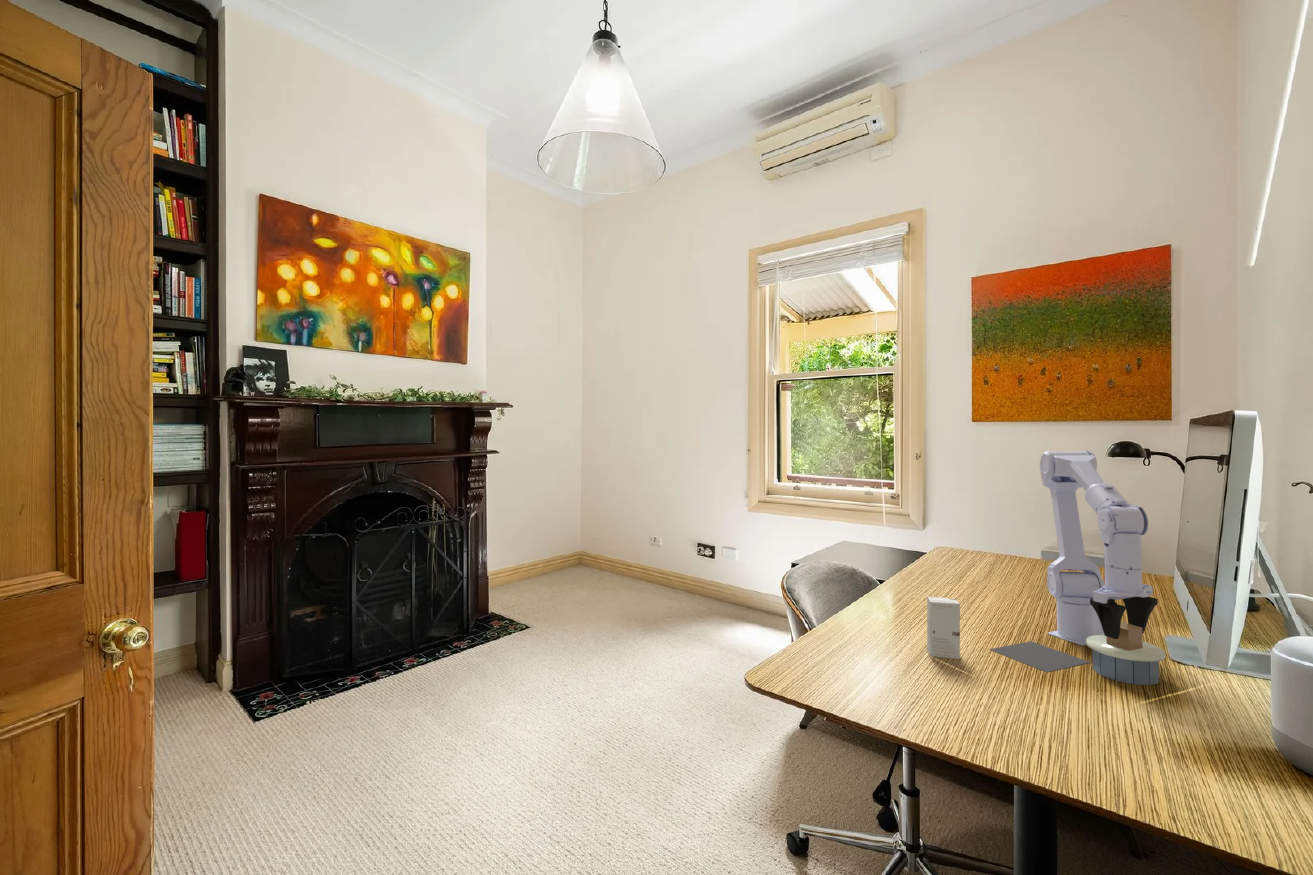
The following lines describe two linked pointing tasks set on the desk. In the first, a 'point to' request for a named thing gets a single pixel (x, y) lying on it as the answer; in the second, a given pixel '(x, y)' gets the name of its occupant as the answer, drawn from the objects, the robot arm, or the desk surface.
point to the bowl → (1126, 669)
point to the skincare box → (943, 627)
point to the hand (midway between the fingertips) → (1124, 634)
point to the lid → (1126, 645)
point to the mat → (1039, 656)
